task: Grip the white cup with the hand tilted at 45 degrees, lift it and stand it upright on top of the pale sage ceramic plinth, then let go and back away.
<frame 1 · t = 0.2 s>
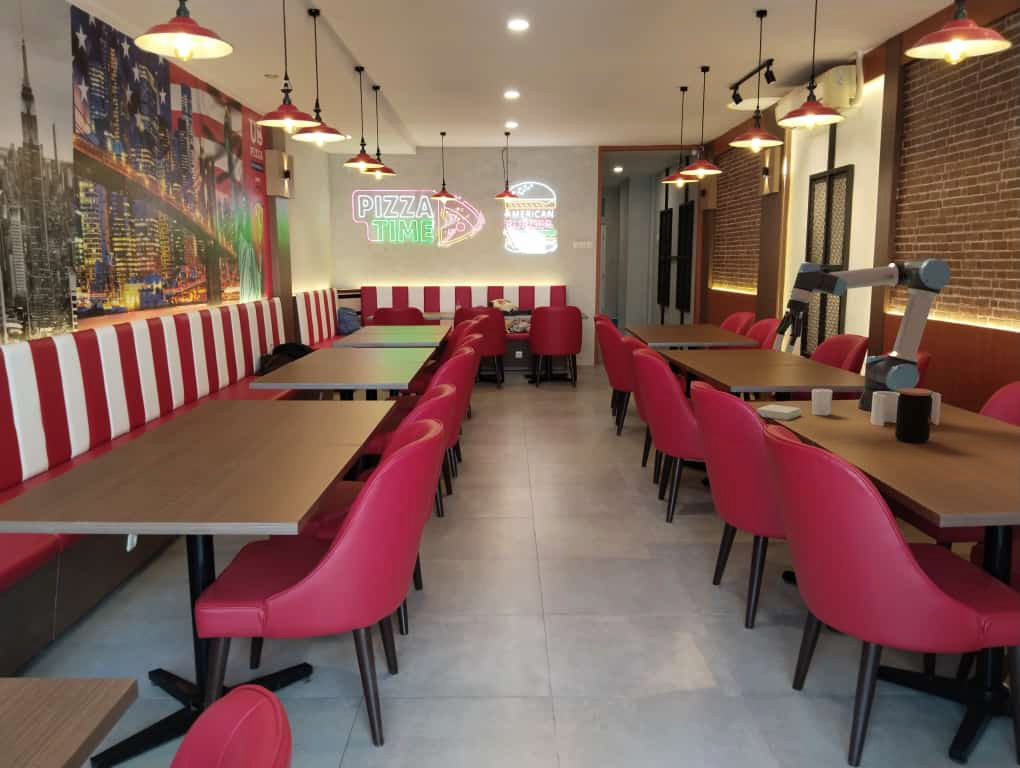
hand: (781, 351, 301), 27 cm above the table, tool tilted 15°, fingers open, 13 cm apart
coffee jar: (911, 440, 264), on the table
bracket: (903, 424, 291), on the table
plinth: (778, 415, 308), on the table
white cup: (820, 414, 310), on the table
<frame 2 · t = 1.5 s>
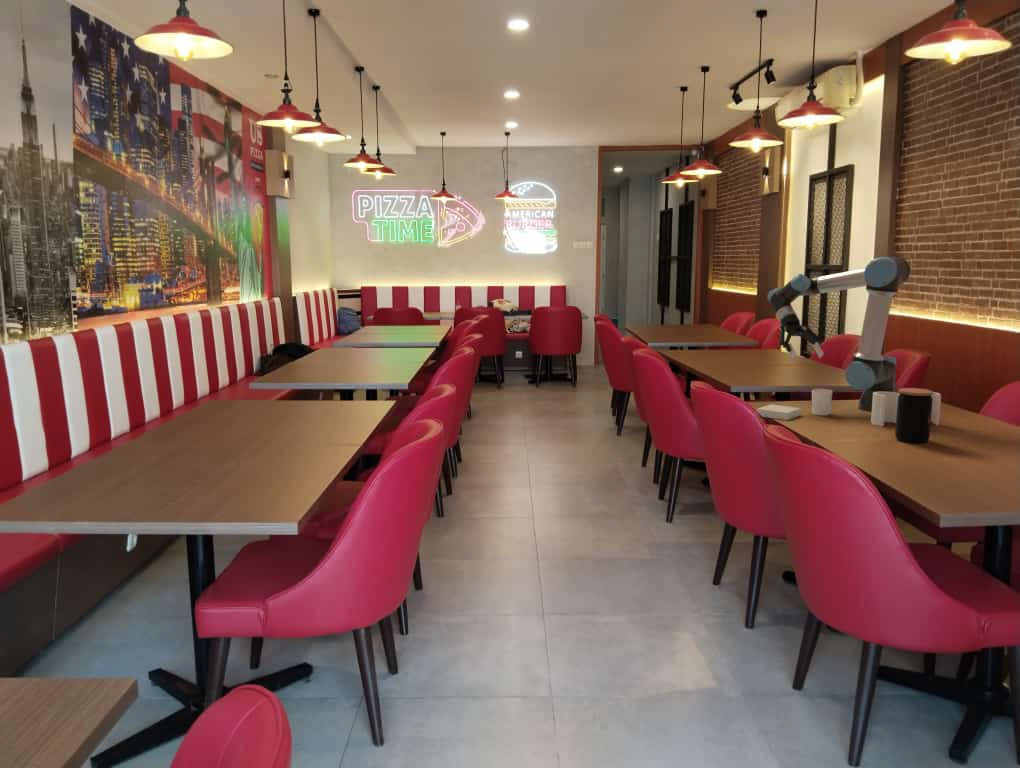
hand: (808, 356, 318), 23 cm above the table, tool tilted 45°, fingers open, 13 cm apart
nothing on the table moved.
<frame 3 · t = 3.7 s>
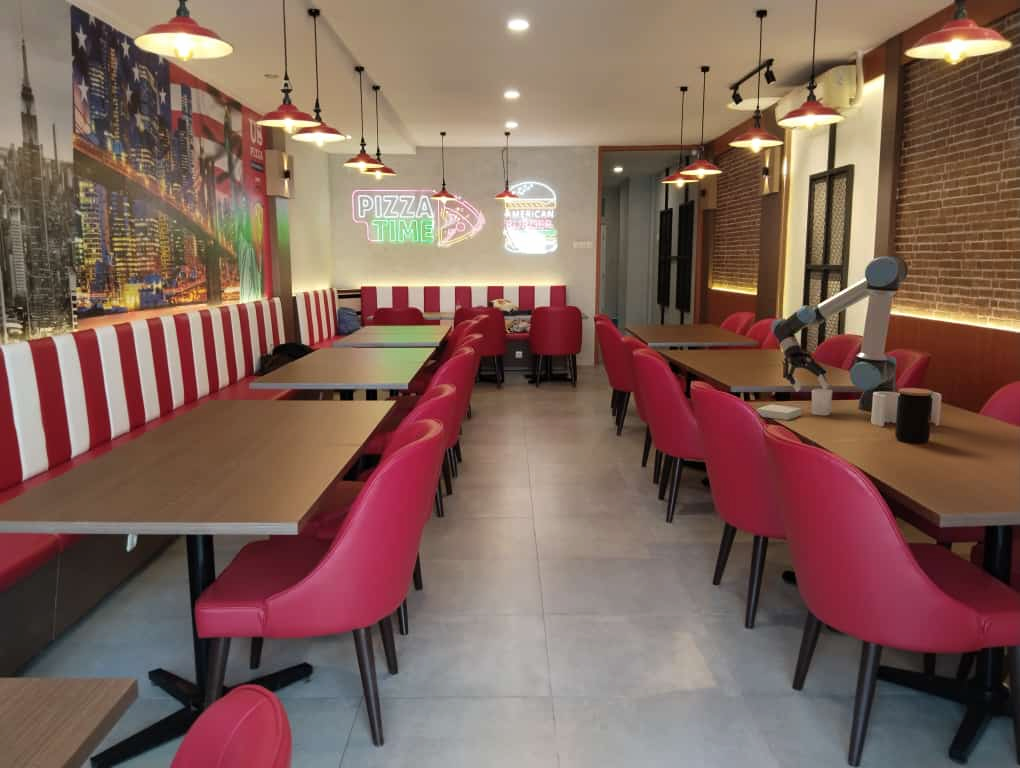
hand: (812, 389, 313), 10 cm above the table, tool tilted 45°, fingers open, 13 cm apart
nothing on the table moved.
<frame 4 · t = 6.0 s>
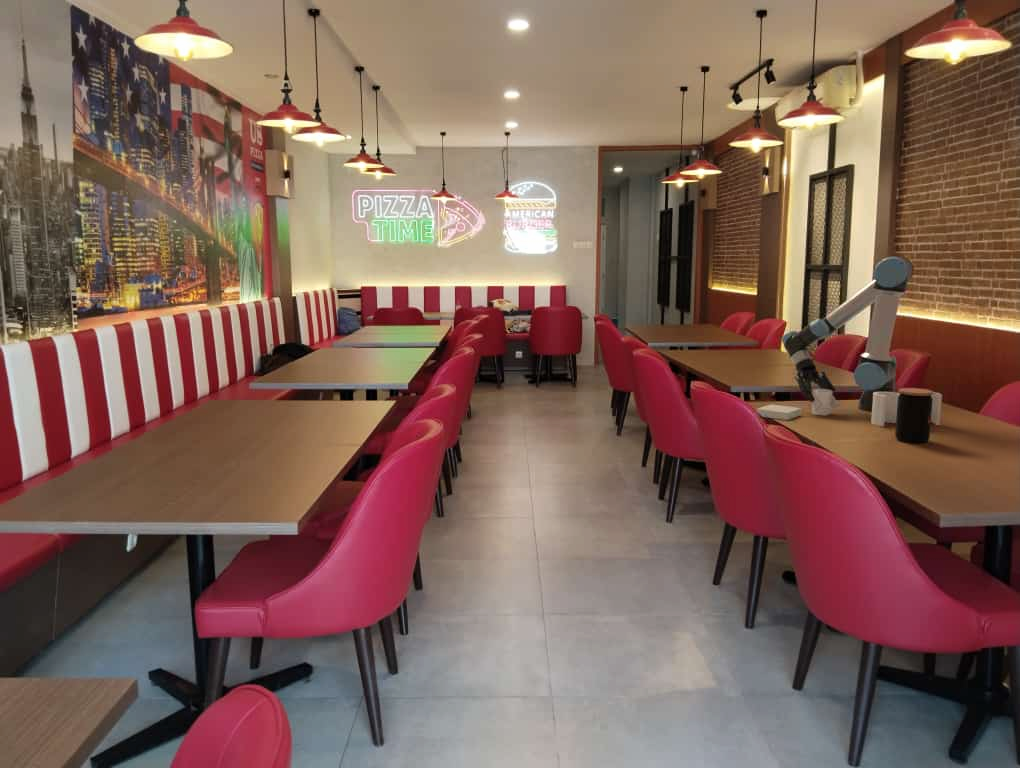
hand: (826, 406, 306), 4 cm above the table, tool tilted 45°, fingers closed on white cup, 8 cm apart
white cup: (820, 414, 310), on the table, touching gripper
everything else where it was.
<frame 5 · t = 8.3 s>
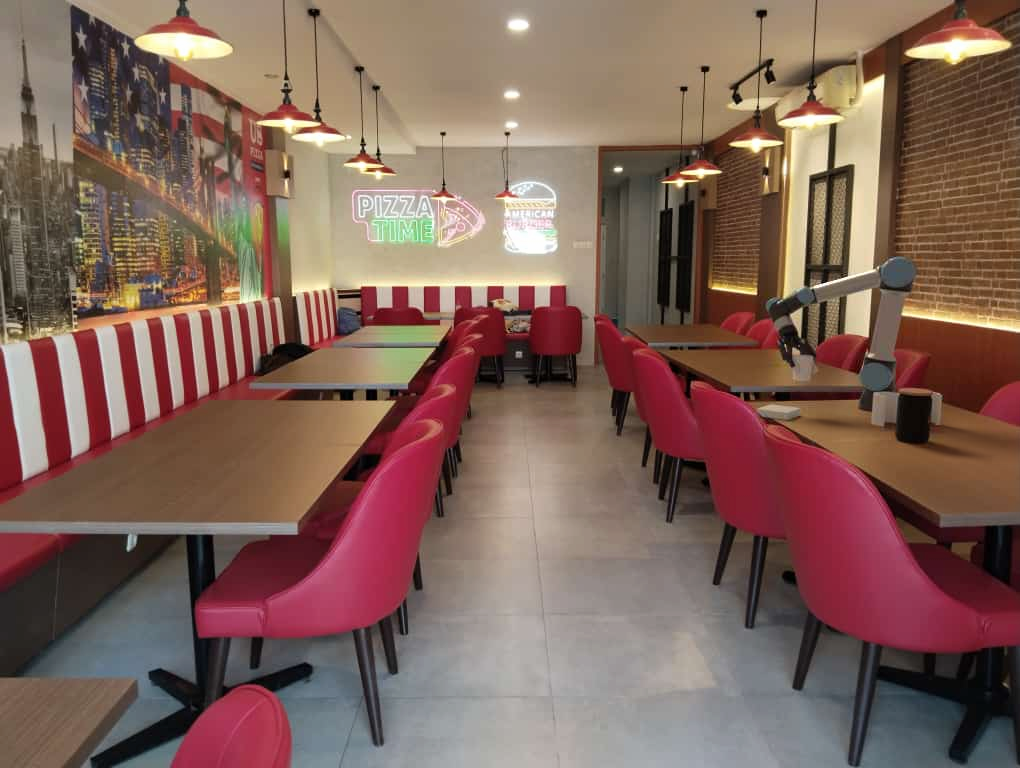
hand: (807, 372, 305), 18 cm above the table, tool tilted 45°, fingers closed on white cup, 8 cm apart
white cup: (801, 380, 309), point 14 cm above the table, touching gripper
everything else where it was.
when the fingers open (8 cm above the table, at t = 10.9 s): white cup drops 1 cm, resting on plinth.
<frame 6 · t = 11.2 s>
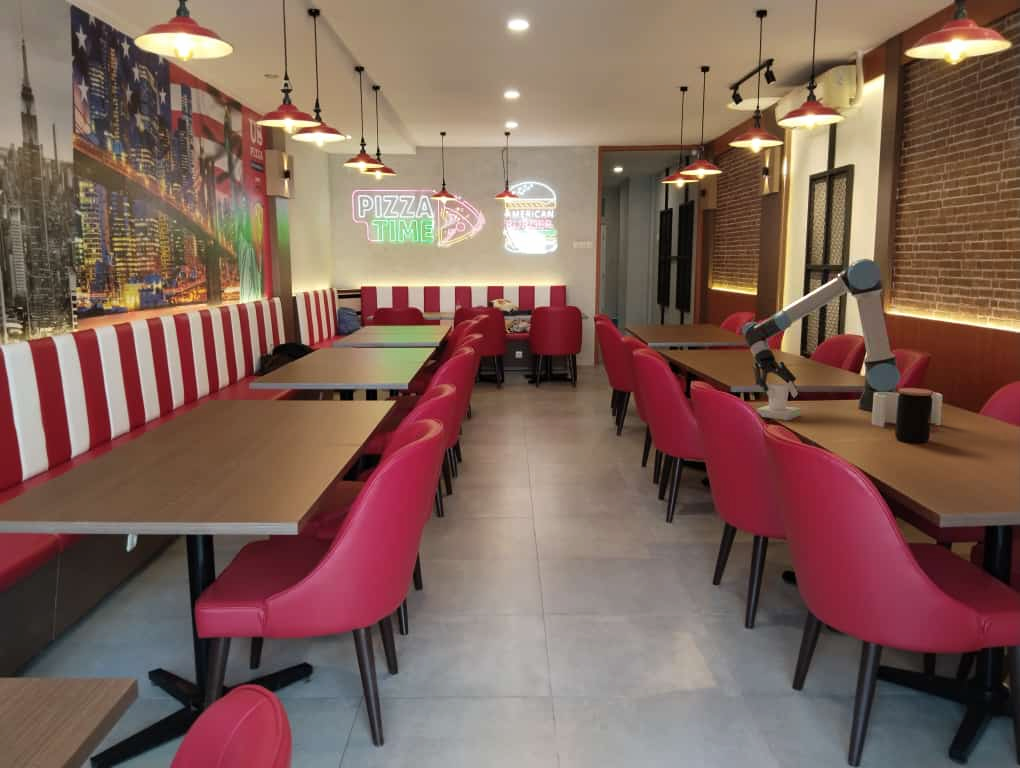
hand: (783, 396, 303), 9 cm above the table, tool tilted 45°, fingers open, 10 cm apart
white cup: (777, 409, 307), point 3 cm above the table, touching plinth
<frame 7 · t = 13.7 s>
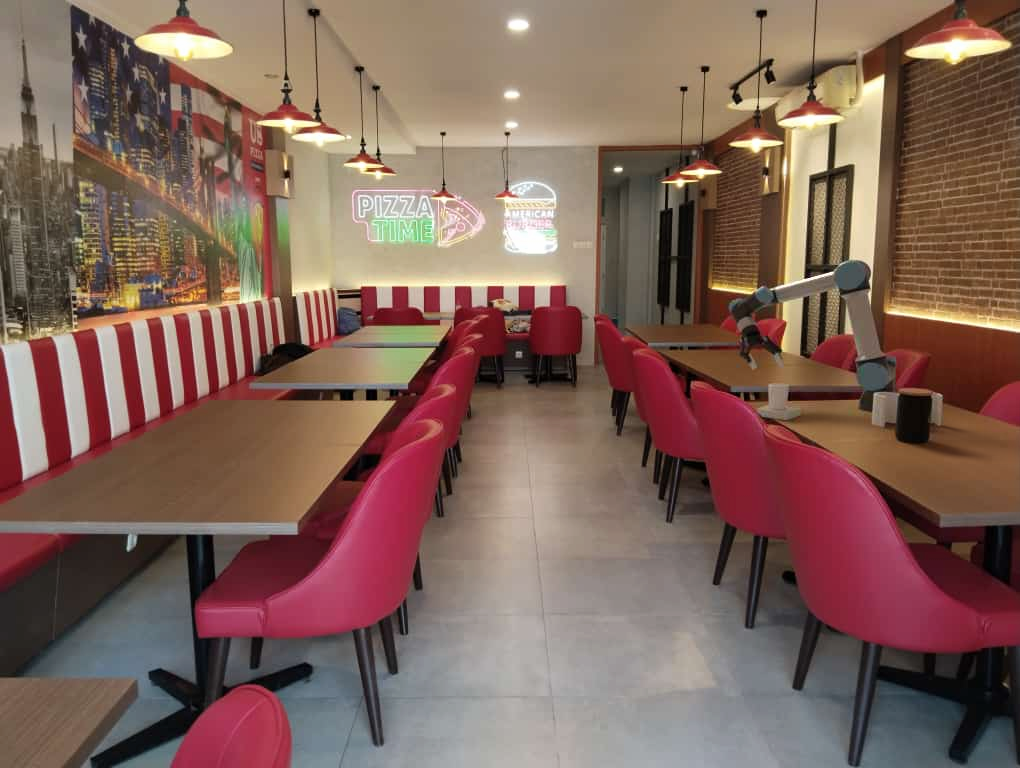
hand: (768, 367, 317), 18 cm above the table, tool tilted 45°, fingers open, 13 cm apart
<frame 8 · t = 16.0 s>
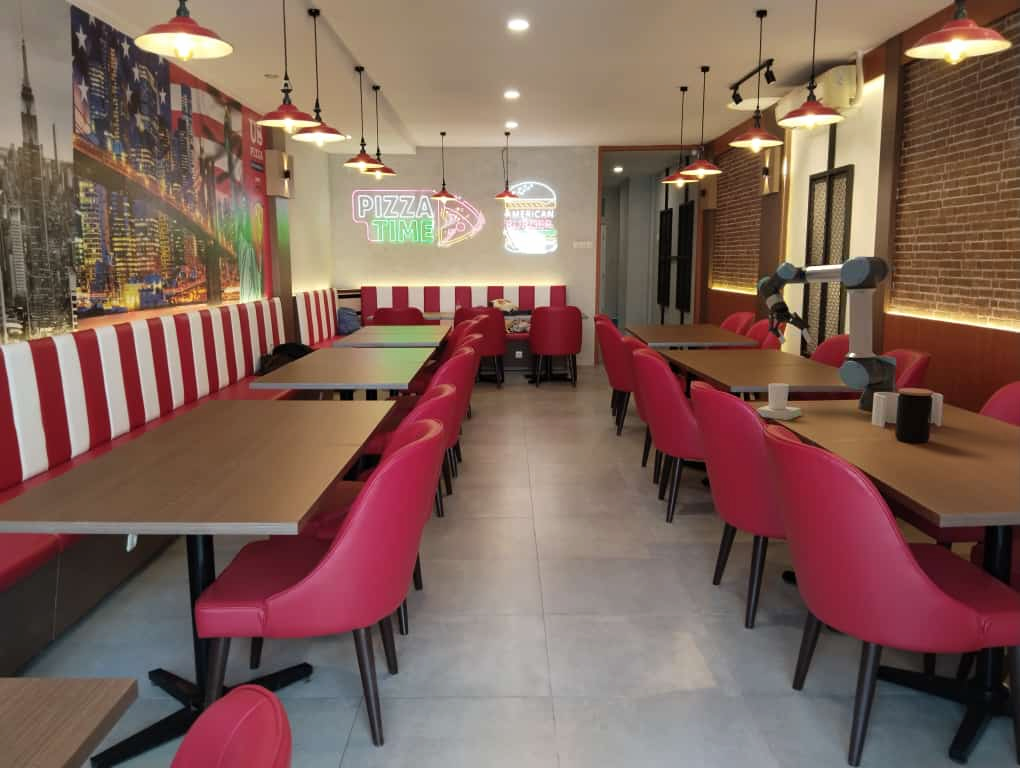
hand: (796, 342, 329), 28 cm above the table, tool tilted 45°, fingers open, 13 cm apart
at the end: white cup inside the target area on the plinth (0.6 cm from its centre), point 2.8 cm above the plinth's base; white cup tilted 0°; the gripper is holding nothing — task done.
